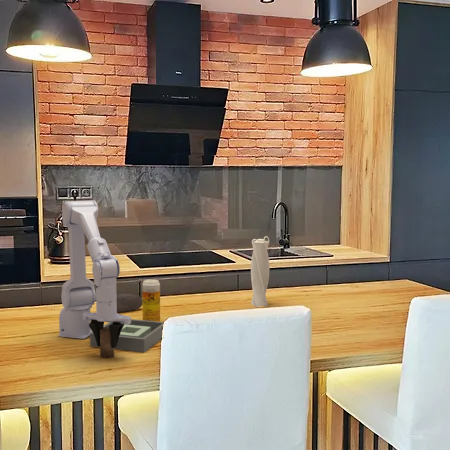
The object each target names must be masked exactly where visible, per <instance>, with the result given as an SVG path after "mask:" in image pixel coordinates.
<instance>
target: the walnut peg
mask: <svg viewBox="0 0 450 450" xmlns="http://www.w3.org/2000/svg"><path fill="white" fill-rule="evenodd" d="M99 357H100V358H101V359H112V358H114V357H115V349H114V348H112V347H111V333H110V329H109V327H104V328H101V329H100V347H99Z"/></svg>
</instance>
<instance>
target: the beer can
mask: <svg viewBox="0 0 450 450" xmlns="http://www.w3.org/2000/svg"><path fill="white" fill-rule="evenodd" d="M141 286H142V287H141V288H142V291H141V292H142V295H141V298H142V320H146V321H157V322H161V283H160V280H159V279H158V280H157V279H145V280H143V282H142V284H141Z"/></svg>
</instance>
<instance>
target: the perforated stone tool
mask: <svg viewBox="0 0 450 450" xmlns="http://www.w3.org/2000/svg"><path fill="white" fill-rule="evenodd" d="M116 294H117V293H116ZM141 307H143V305H142V296H139V295H136V294H131V293H119V294H117V314H119V313H124V312H133V311H137V310H138V309H140V308H141Z"/></svg>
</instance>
